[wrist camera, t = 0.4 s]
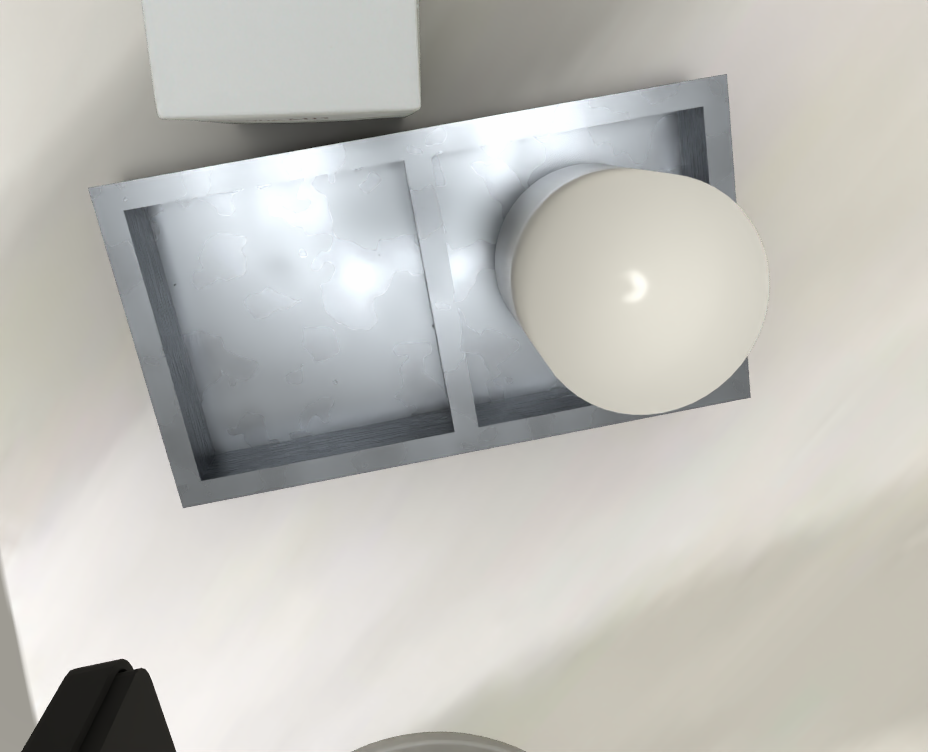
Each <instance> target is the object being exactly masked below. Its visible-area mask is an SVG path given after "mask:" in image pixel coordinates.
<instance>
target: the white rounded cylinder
mask: <svg viewBox="0 0 928 752" xmlns="http://www.w3.org/2000/svg"><path fill="white" fill-rule="evenodd" d="M495 272H496V279H497V283H498V288H499V291H500V293H501V296H502V299H503V301H504V302H505V304H506V306H507V308H508V310H509V311H510V313H511V314H512V315H513V317H514V318H515V320H516V321H517V322H518V324H519V325H520V327H521V328H522V330H523V331H524V332H525V334H526V335H527V337H528V338H529V339H530V341H531V342H532V344H533V345H534V347H535V348H536V349H537V351H538V352H539V354H540V355H541V356H542V358H543V359H544V361H545V362H546V364H547V365H548V366H549V368H550V369H551V370H552V372H553V373H554V375H555V376H556V377H557V378H558V379H559V380H560V381H561V382H562V383H563V384H564V385H565V386H566V387H567V388H568V389H569V390H570V391H572V392H573V393H574V394H576V395H577V396H578V397H580V398H582V399H583V400H585V401H587V402H589V403H590V404H593V405H595V406H598V407H600V408H602V409H605V410H609V411H613V412H617V413H623V414H631V415H650V414H658V413H664V412H668V411H672V410H676V409H679V408H682V407H684V406H687V405H689V404H692V403H694V402H696V401H698V400H700V399H701V398H703V397H705V396H707V395H708V394H710V393H711V392H712V391H714V390H715V389H717V388H718V387H719V386H721V385H722V384H723V383H724V382H725V381H726V380H727V379H728V378H730V377H731V376H732V375H733V373H734V372H735V371H736V370H737V369H738V368H739V367H740V366H741V364H742V363H743V361H744V360H745V359H746V357H747V356H748V354H749V353H750V351H751V350H752V348H753V346H754V344H755V342H756V340H757V338H758V336H759V334H760V331H761V328H762V326H763V323H764V320H765V316H766V312H767V308H768V301H769V293H770V276H769V268H768V261H767V257H766V253H765V250H764V246H763V244H762V241H761V239H760V237H759V234H758V232H757V230H756V229H755V227H754V225H753V224H752V222H751V220H750V219H749V217H748V216H747V215H746V214H745V213H744V211H743V210H742V209H741V208H740V207H739V206H738V205H737V204H736V203H735V202H734V201H733V200H732V199H731V198H730V197H728V196H727V195H726V194H724V193H723V192H721V191H720V190H718V189H717V188H715V187H713V186H711V185H709V184H707V183H705V182H703V181H700V180H697V179H694V178H691V177H687V176H682V175H676V174H670V173H663V172H656V171H648V170H641V169H634V168H627V167H620V166H613V165H605V164H592V163H586V164H577V165H572V166H568V167H564V168H561V169H559V170H556V171H554V172H551V173H549V174H548V175H546V176H544V177H542V178H540V179H539V180H538V181H536V182H535V183H534V184H532V185H531V186H530V187H529V188H528V189H527V190H526V191H524V192H523V193H522V194H521V195H520V197H519V198H518V199H517V200H516V202H515V203H514V204H513V205H512V207H511V209H510V210H509V212H508V214H507V215H506V217H505V219H504V222H503V224H502V226H501V229H500V232H499V235H498V239H497V244H496V250H495Z"/></svg>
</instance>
